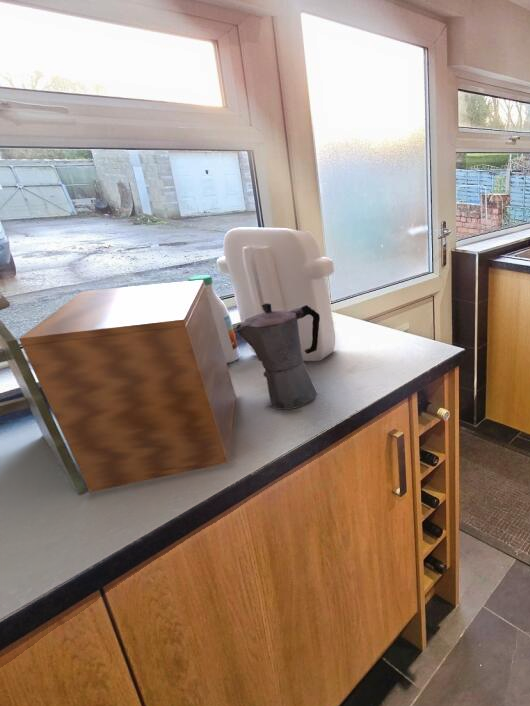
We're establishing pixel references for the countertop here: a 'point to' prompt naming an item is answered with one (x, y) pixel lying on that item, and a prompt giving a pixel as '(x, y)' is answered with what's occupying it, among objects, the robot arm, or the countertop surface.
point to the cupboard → (136, 381)
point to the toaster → (280, 279)
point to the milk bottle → (221, 320)
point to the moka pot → (282, 353)
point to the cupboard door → (35, 404)
